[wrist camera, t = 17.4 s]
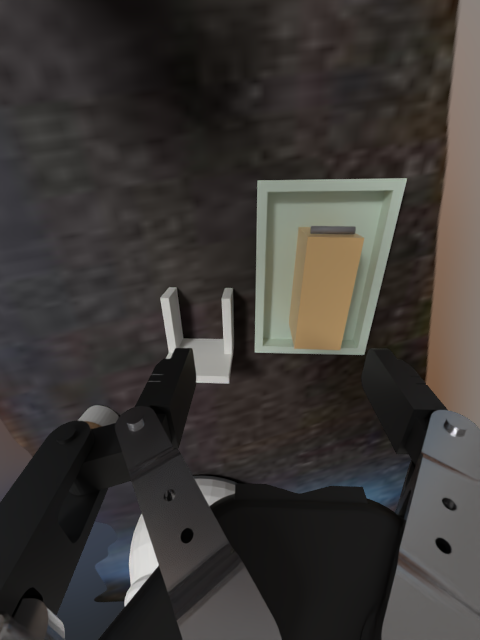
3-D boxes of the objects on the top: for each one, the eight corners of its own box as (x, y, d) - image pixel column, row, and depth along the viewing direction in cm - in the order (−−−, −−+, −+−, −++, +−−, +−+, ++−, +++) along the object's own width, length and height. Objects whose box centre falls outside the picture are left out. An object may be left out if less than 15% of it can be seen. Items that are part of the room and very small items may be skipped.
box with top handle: (299, 219, 29) (308, 228, 24) (346, 220, 29) (366, 229, 23) (288, 323, 35) (294, 348, 30) (327, 324, 35) (340, 350, 29)
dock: (169, 287, 34) (145, 315, 27) (232, 288, 34) (226, 316, 27) (177, 344, 38) (158, 381, 31) (234, 345, 38) (228, 383, 31)
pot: (201, 442, 48) (174, 565, 32) (303, 504, 55) (321, 630, 39) (122, 505, 59) (75, 619, 43) (216, 550, 66) (203, 662, 50)
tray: (257, 180, 28) (257, 180, 26) (394, 178, 27) (407, 178, 25) (254, 342, 37) (254, 352, 35) (357, 344, 36) (364, 355, 34)
